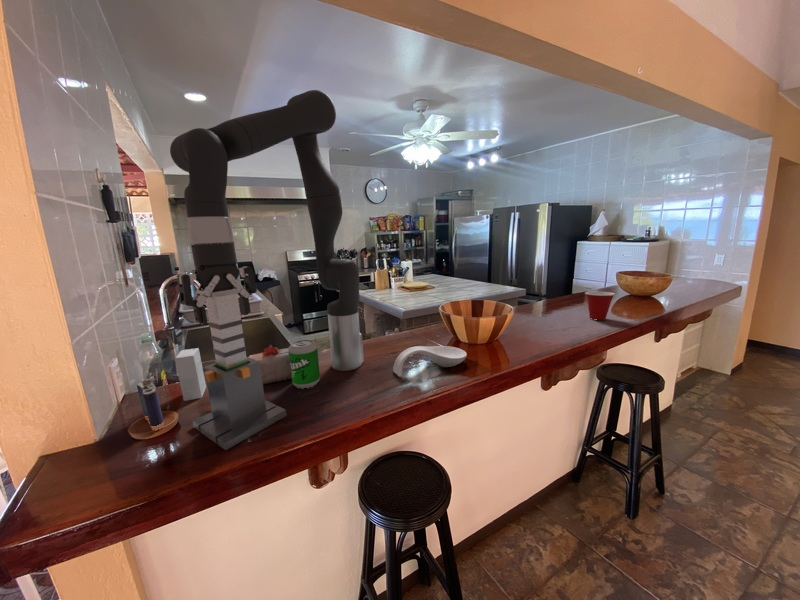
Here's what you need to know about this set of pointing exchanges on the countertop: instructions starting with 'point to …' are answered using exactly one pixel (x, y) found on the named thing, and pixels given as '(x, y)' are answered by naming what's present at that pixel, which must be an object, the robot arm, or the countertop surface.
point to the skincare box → (190, 374)
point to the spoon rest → (432, 356)
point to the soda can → (304, 363)
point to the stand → (236, 405)
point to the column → (226, 329)
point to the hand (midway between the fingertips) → (225, 319)
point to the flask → (150, 402)
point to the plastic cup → (599, 304)
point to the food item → (274, 364)
